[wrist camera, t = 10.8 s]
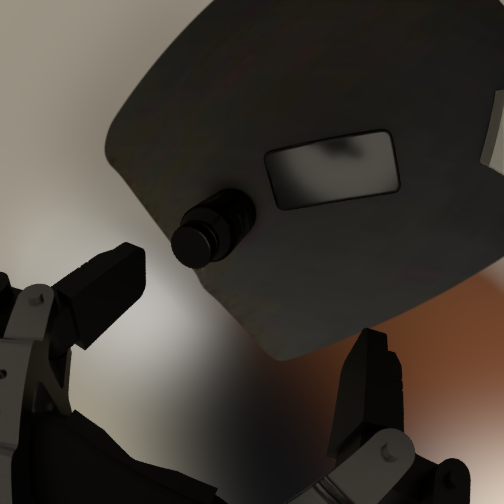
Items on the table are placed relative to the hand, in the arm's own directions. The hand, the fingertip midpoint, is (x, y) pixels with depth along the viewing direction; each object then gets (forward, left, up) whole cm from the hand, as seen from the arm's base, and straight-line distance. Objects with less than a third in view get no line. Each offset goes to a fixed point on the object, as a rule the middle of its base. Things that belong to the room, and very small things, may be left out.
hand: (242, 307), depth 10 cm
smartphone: (0, +1, -29) cm, 29 cm away
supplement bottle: (+9, -10, -28) cm, 31 cm away
